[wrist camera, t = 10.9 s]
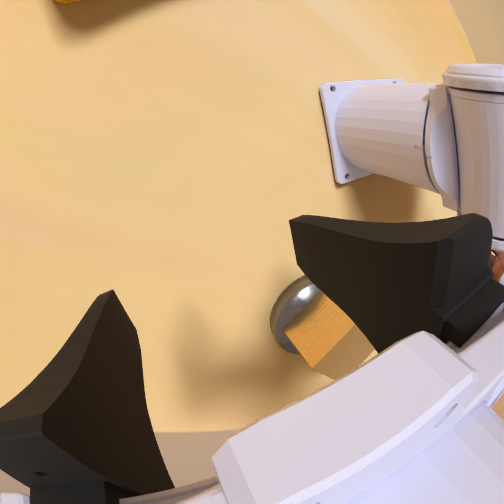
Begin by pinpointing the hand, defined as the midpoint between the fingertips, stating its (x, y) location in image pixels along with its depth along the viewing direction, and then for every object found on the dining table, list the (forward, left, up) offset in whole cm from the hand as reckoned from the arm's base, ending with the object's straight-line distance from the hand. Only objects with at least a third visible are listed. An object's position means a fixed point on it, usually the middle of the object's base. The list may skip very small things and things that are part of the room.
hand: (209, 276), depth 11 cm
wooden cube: (-8, +13, -8) cm, 17 cm away
